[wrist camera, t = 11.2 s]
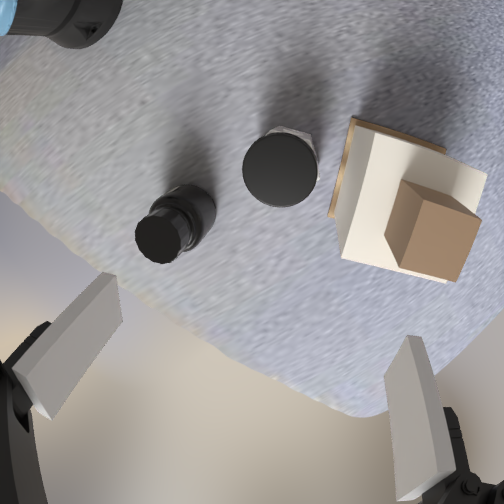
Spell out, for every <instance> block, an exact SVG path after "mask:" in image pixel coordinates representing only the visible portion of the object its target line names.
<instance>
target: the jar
mask: <svg viewBox="0 0 504 504" xmlns="http://www.w3.org/2000/svg"><path fill="white" fill-rule="evenodd" d="M242 173H243V179H244V182H245V184H246V186H247V188H248V190H249V191H250V193H251V194H252V195H253V196H254V197H255V198H256V199H258V200H259V201H261V202H262V203H264V204H267V205H269V206H273V207H289V206H293V205H296V204H298V203H300V202H301V201H303V200H304V199H305V198H307V197H308V196H309V194H310V193H311V192H312V190H313V189H314V187H315V184H316V182H317V181H318V180H319V179H320V173H319V163H318V159H317V155H316V151H315V148H314V144H313V140H312V136H311V134H308V133H305V132H301V131H298V130H294V129H291V128H287V127H283V126H278V127H276V128H274V129H271V130H270V131H269V132H268V133H267V134H266V135H265V136H263V137H261V138H259V139H258V140H257V141H255V142H254V143H253V144H252V145H251V147H250V148H249V150H248V151H247V153H246V155H245V156H244V160H243V166H242Z"/></svg>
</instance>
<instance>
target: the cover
mask: <svg viewBox="0 0 504 504" xmlns="http://www.w3.org/2000/svg"><path fill="white" fill-rule="evenodd" d="M486 178H487V174H486V173H484V172H482V171H480V170H477V169H475V168H473V167H471V166H469V165H467V164H465V163H462V162H460V161H458V160H456V159H454V158H451V157H449V156H447V155H444V154H442V153H439V152H437V151H434V150H432V149H429V148H426V147H423V146H421V145H418V144H415V143H412V142H409V141H406V140H403V139H400V138H397V137H394V136H391V135H387V134H384V133H381V132H378V131H374V130H371V129H367V128H364V127H360V126H357V125H355V128H354V133H353V137H352V142H351V146H350V150H349V155H348V159H347V163H346V167H345V171H344V175H343V179H342V183H341V187H340V191H339V195H338V199H337V203H336V207H335V211H334V216H335V222H336V228H337V234H338V241H339V247H340V254H341V258H343V259H348V260H352V261H356V262H360V263H364V264H368V265H373V266H377V267H381V268H385V269H389V270H393V271H397V272H401V273H405V274H409V275H413V276H417V277H421V278H425V279H429V280H433V281H437V282H441V283H445V284H446V283H447V281H448V280H449V281H453V282H456V281H457V279H458V277H459V275H460V272H461V270H462V268H463V266H464V264H465V261H466V259H467V257H468V254H469V252H470V250H471V247H472V245H473V242H474V240H475V237H476V235H477V232H478V229H479V227H480V224H481V221H482V220H481V219H480V218H479V217H478V216H476V215H475V212H476V209H477V206H478V203H479V200H480V197H481V194H482V191H483V188H484V184H485V181H486Z"/></svg>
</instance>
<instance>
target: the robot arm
mask: <svg viewBox="0 0 504 504" xmlns="http://www.w3.org/2000/svg"><path fill="white" fill-rule="evenodd" d="M121 4H122V0H0V36H3V35H29V36H45V37H47V38H49V39H51V40H52V41H54V42H55V43H57V44H58V45H60V46H62V47H65V48H70V49H83V48H86V47H89V46H91V45H93V44H94V43H96V42H97V41H98V40H100V39H101V38H102V37H103V36H104V35H105V34H106V33H107V32H108V31H109V29H110V28H111V27H112V25H113V24H114V22H115V20H116V18H117V16H118V14H119V11H120V8H121ZM122 322H123V320H122V314H121V307H120V300H119V293H118V286H117V278H116V275H112V274H109V273H105V272H102V273H101V274H100V275H99V276H98V277H97V278H96V279H95V280H94V281H93V282H92V283H91V284H90V285H89V286H88V287H87V288H86V289H85V290H84V291H83V292H82V293H81V294H80V295H79V296H78V297H77V298H76V299H75V300H74V301H73V302H72V303H71V304H70V305H69V306H68V307H67V308H66V309H65V310H64V311H63V312H62V313H61V314H60V315H59V316H58V317H57V318H56V320H55V321H54V322H53V323H50V322H48V321H46V322H44V323H43V324H41V325H40V326H37V327H36V328H35V329H34V330H33V332H32V333H31V334H30V336H28V337H27V338H26V339H25V340H24V342H23V343H21V345H19V347H18V348H17V349H16V350H15V351H14V352H13V353H12V354H11V355H10V357H9V358H8V359H7V360H6V361H5V362H4V363H3V364H2V362H1V361H0V504H48V502H47V498H46V494H45V490H44V486H43V481H42V477H41V473H40V467H39V462H38V457H37V451H36V444H35V437H34V430H33V421H32V413H31V410H30V408H31V406H32V405H34V407H35V408H36V410H37V411H38V413H40V414H42V415H43V416H45V417H47V418H48V419H50V420H53V418H54V417H55V415H56V414H57V413H58V411H59V410H60V408H61V407H62V405H63V404H64V402H65V401H66V399H67V398H68V396H69V395H70V393H71V392H72V390H73V389H74V388H75V386H76V385H77V383H78V382H79V380H80V379H81V378H82V376H83V375H84V373H85V372H86V370H87V369H88V368H89V366H90V365H91V364H92V362H93V361H94V359H95V358H96V357H97V355H98V354H99V353H100V351H101V350H102V348H103V347H104V346H105V344H106V343H107V342H108V340H109V339H110V338H111V336H112V335H113V333H114V332H115V331H116V329H117V328H118V327H119V326H120V324H121V323H122ZM384 381H385V388H386V395H387V402H388V409H389V417H390V425H391V434H392V445H393V455H394V469H395V485H396V501H405V500H414V499H416V498H417V497H419V496H420V495H422V499H423V501H421V502H420V503H418V504H504V480H503V481H502V482H500V483H499V484H497V485H493V484H487V483H482V482H481V480H480V478H479V477H478V476H477V475H476V474H474V473H472V472H470V469H469V465H468V459H467V455H466V451H465V446H464V441H463V439H462V433H461V430H460V425H459V421H458V417H457V416H456V414H455V413H454V411H453V410H452V408H451V407H442V403H441V399H440V395H439V391H438V388H437V384H436V381H435V377H434V374H433V371H432V367H431V364H430V361H429V358H428V355H427V352H426V349H425V346H424V343H423V340H422V337H419V336H411V335H407V336H406V338H405V340H404V342H403V343H402V345H401V347H400V349H399V351H398V353H397V354H396V356H395V358H394V360H393V361H392V363H391V365H390V366H389V368H388V370H387V372H386V373H385V375H384Z"/></svg>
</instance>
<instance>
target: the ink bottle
mask: <svg viewBox="0 0 504 504" xmlns="http://www.w3.org/2000/svg"><path fill="white" fill-rule="evenodd" d="M215 216H216V211H215V205H214V202H213V200H212V198H211V197H210V195H209V194H208V193H207V192H205V191H204V190H203V189H201V188H199V187H197V186H194V185H180V186H177V187H175V188H173V189H172V190H170V191H168V192H167V193H165V194H164V195H162V196H161V197H159V198H158V199H157V200H156V201H155V202H154V203H153V204H152V206H151V208H150V210H149V214H148V215H147V216H145V217H144V218H143V219H142V220H141V221H140V222H139V223H138V224H137V227H136V230H135V241H136V243H137V245H138V248H139V250H140V251H141V252H142V253H143V255H144V256H145V257H146V258H148V259H149V260H151V261H152V262H156V263H160V264H165V263H171V262H172V261H173V260H175V259H176V258H177V257H178V256H179V255H180V254H181V253H182V252H186V251H190V250H192V249H193V248H195V247H196V246H197V245H198V244H199V243H200V242H201V240H202V239H203V238H204V237H205V235H206V234H207V233H208V232H209V231H210V229H211V228H212V226H213V224H214V221H215Z"/></svg>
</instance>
